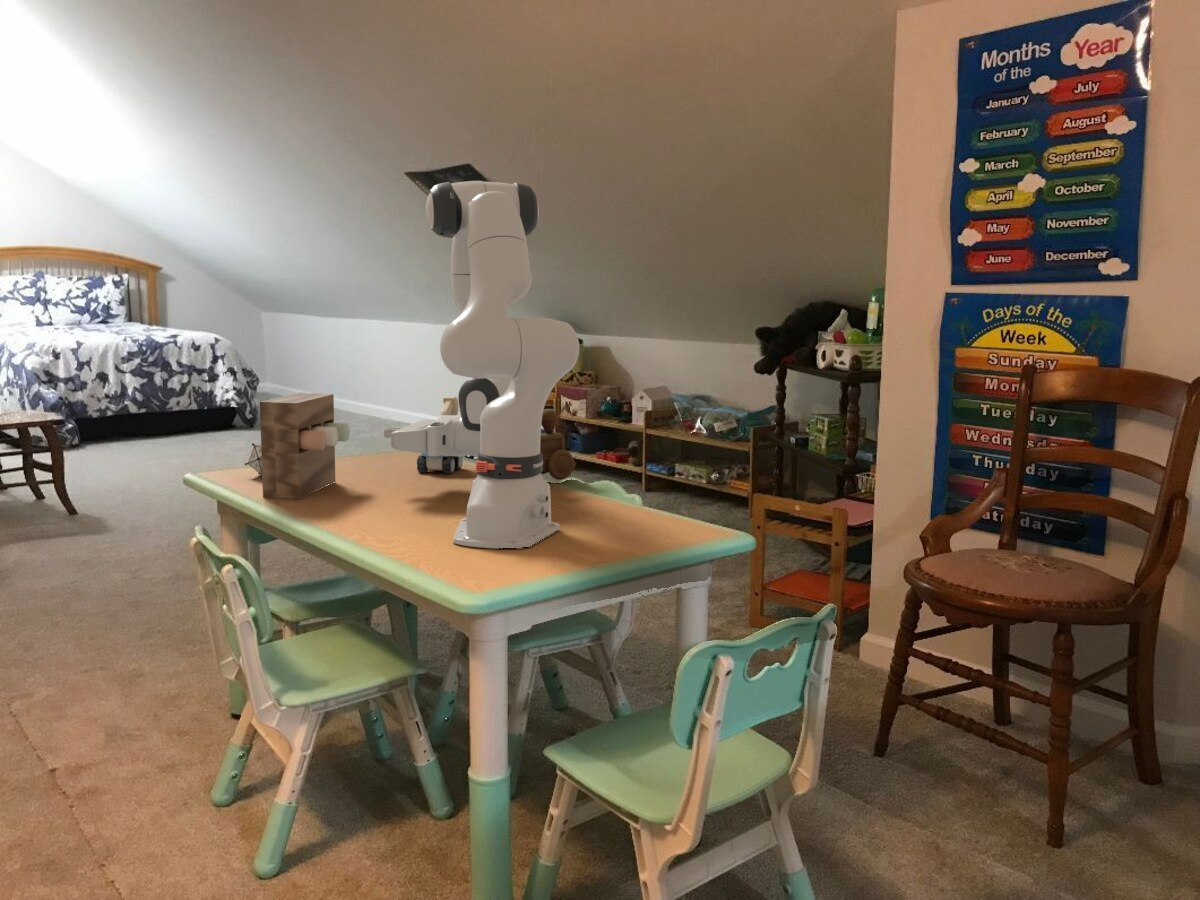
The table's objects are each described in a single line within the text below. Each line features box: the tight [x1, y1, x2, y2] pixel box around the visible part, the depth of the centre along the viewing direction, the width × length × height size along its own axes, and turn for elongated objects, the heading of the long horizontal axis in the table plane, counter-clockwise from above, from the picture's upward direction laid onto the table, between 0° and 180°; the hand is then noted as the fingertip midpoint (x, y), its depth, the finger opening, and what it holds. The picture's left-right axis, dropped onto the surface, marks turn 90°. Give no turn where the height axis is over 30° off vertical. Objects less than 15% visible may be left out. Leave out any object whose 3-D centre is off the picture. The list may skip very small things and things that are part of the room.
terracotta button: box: [298, 430, 326, 450], centre depth 204 cm, size 6×4×4 cm, turn 81°
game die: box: [243, 442, 262, 479], centre depth 226 cm, size 9×8×10 cm
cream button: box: [311, 426, 339, 447], centre depth 210 cm, size 6×4×4 cm, turn 81°
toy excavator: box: [416, 396, 464, 474], centre depth 239 cm, size 9×17×17 cm, turn 170°
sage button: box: [323, 422, 350, 443], centre depth 216 cm, size 6×4×4 cm, turn 81°
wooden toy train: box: [540, 408, 577, 481], centre depth 226 cm, size 20×11×17 cm, turn 122°
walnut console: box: [259, 392, 336, 500], centre depth 211 cm, size 8×18×20 cm, turn 171°
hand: (386, 432), depth 214 cm, fingers closed
